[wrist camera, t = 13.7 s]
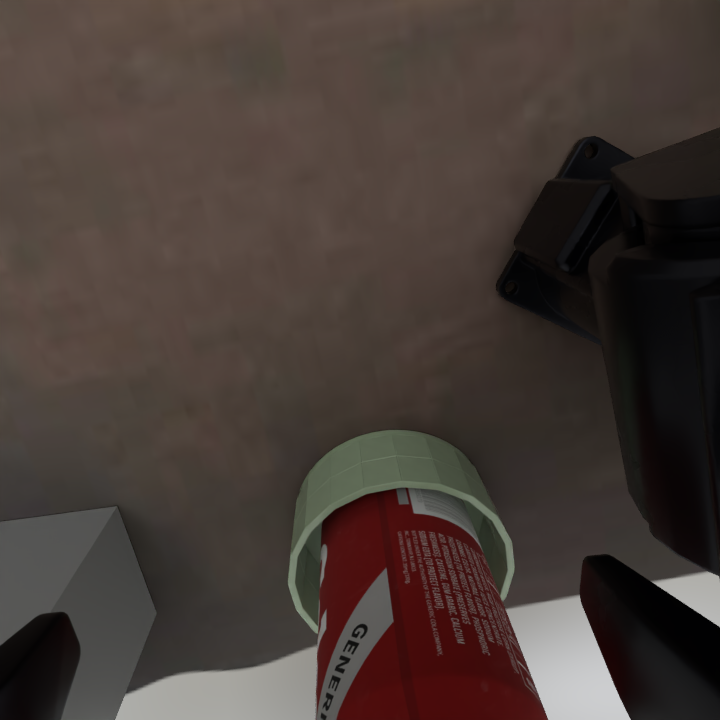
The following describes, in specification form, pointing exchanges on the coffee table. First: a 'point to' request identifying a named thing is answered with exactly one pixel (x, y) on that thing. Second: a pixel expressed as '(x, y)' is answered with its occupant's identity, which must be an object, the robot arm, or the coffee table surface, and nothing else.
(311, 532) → the crock
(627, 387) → the robot arm
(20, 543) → the perfume bottle
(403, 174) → the coffee table surface
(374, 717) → the soda can
